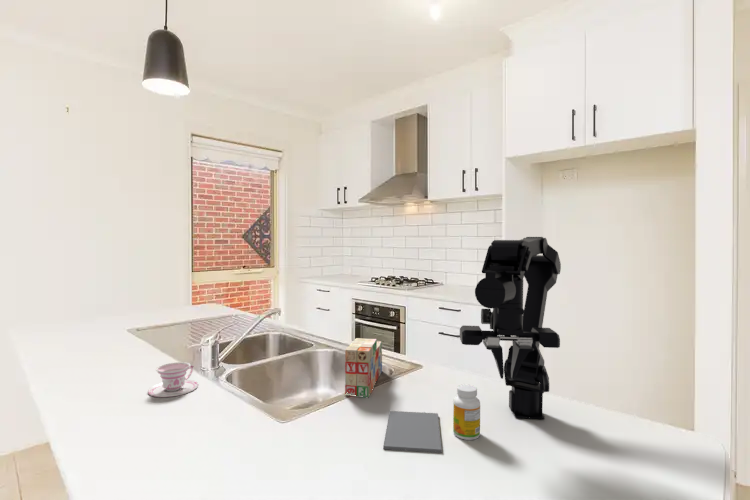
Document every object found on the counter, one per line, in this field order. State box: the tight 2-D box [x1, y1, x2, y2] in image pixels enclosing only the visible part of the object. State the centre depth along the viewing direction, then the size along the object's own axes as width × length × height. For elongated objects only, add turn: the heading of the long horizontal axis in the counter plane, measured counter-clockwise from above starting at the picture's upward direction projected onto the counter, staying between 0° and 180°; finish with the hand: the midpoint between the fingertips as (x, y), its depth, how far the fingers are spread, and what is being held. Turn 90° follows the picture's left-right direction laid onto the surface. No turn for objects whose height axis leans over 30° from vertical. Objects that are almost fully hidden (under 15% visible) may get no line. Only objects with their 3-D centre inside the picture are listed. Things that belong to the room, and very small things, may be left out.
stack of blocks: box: [344, 337, 383, 398], centre depth 113 cm, size 21×6×12 cm, turn 170°
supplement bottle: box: [452, 383, 481, 441], centre depth 83 cm, size 5×5×10 cm
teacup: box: [147, 361, 199, 398], centre depth 108 cm, size 12×12×6 cm
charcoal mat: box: [382, 410, 443, 454], centre depth 85 cm, size 11×16×1 cm
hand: (507, 378), depth 82 cm, fingers closed
